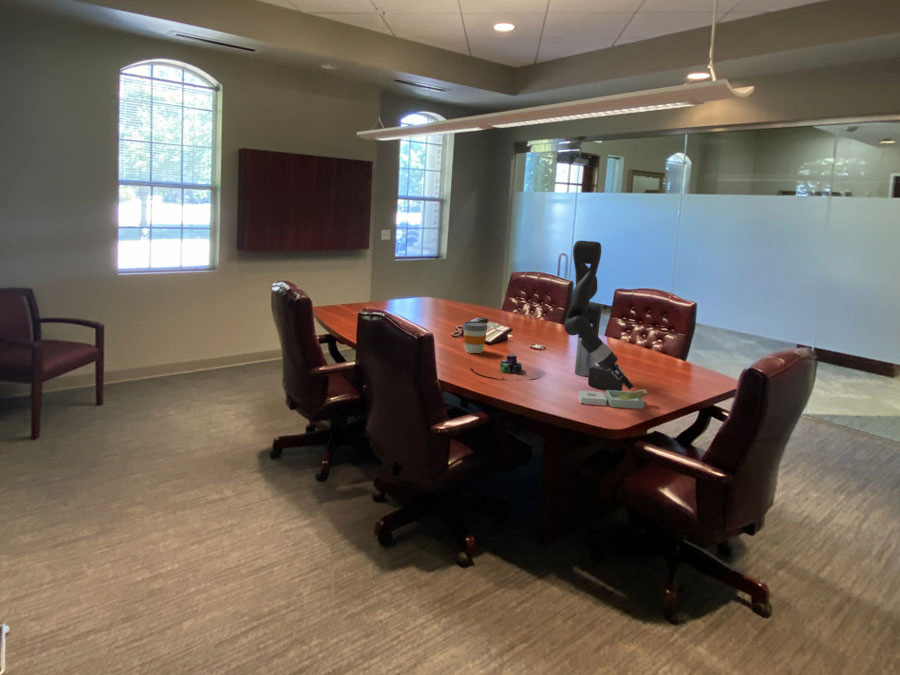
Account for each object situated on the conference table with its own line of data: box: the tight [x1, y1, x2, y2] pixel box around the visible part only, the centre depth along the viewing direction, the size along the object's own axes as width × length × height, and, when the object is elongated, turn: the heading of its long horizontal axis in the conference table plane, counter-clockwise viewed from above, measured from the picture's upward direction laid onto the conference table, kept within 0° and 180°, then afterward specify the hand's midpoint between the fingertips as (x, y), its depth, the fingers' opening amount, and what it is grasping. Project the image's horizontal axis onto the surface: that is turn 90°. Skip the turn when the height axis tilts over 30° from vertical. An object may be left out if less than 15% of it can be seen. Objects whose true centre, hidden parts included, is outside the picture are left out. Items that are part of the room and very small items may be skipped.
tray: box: [604, 390, 645, 410], centre depth 263 cm, size 13×13×3 cm
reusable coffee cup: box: [462, 320, 488, 354], centre depth 337 cm, size 12×13×15 cm
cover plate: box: [577, 390, 608, 406], centre depth 263 cm, size 10×10×2 cm
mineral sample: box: [499, 353, 535, 381], centre depth 304 cm, size 35×35×9 cm
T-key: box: [618, 388, 649, 400], centre depth 262 cm, size 5×2×11 cm
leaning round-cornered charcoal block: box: [587, 365, 624, 391], centre depth 280 cm, size 16×5×9 cm, turn 47°
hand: (629, 384), depth 261 cm, fingers open, 8 cm apart
